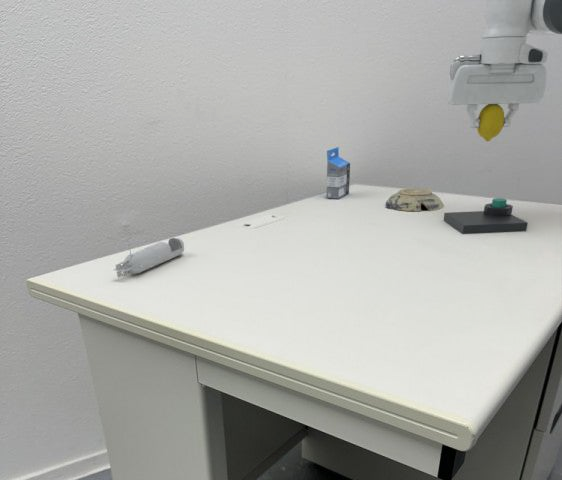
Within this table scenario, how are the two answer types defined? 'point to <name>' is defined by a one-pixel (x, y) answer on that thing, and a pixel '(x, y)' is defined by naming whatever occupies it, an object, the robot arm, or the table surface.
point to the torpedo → (150, 257)
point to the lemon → (490, 121)
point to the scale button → (499, 203)
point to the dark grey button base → (486, 220)
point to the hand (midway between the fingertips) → (489, 127)
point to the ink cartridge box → (337, 175)
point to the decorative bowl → (414, 200)
